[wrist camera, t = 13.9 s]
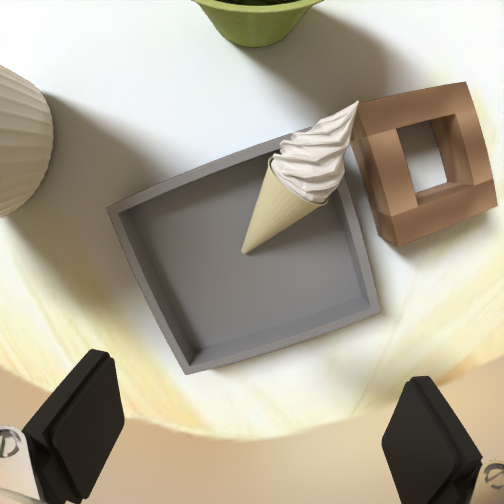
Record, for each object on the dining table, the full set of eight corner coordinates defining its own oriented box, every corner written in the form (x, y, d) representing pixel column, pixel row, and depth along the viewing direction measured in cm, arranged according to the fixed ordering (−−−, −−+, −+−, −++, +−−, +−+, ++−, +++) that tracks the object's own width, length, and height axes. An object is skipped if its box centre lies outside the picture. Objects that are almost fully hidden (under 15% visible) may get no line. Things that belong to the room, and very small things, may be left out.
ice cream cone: (263, 236, 30) (368, 102, 21) (275, 281, 26) (403, 138, 17) (213, 222, 27) (315, 68, 18) (219, 270, 24) (347, 98, 15)
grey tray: (368, 296, 29) (380, 312, 26) (191, 355, 31) (185, 375, 27) (316, 128, 25) (325, 122, 22) (122, 203, 27) (106, 207, 24)
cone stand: (470, 199, 27) (497, 205, 22) (378, 235, 28) (398, 246, 23) (440, 90, 24) (465, 81, 20) (340, 114, 25) (355, 104, 21)
